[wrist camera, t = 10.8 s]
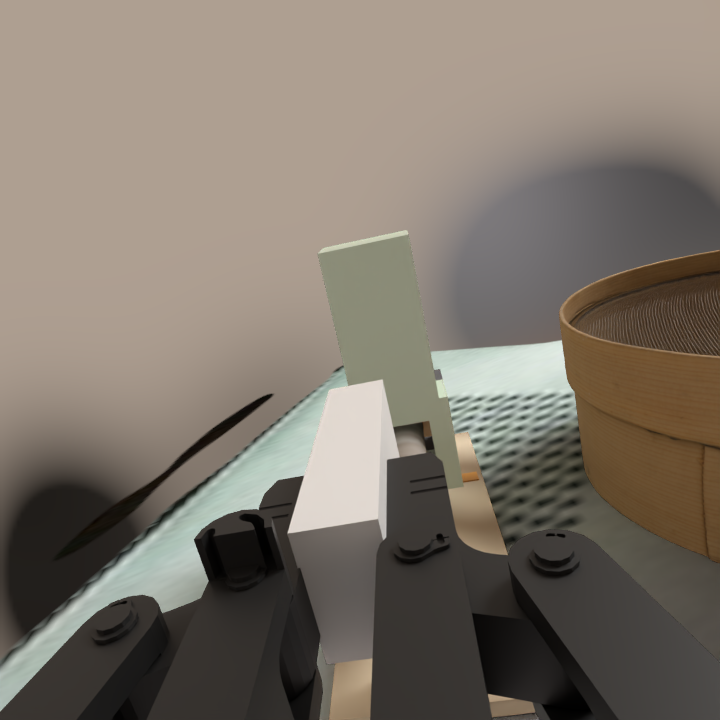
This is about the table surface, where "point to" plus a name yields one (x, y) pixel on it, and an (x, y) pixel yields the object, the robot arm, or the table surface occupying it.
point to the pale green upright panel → (389, 335)
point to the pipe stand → (473, 529)
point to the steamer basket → (652, 394)
